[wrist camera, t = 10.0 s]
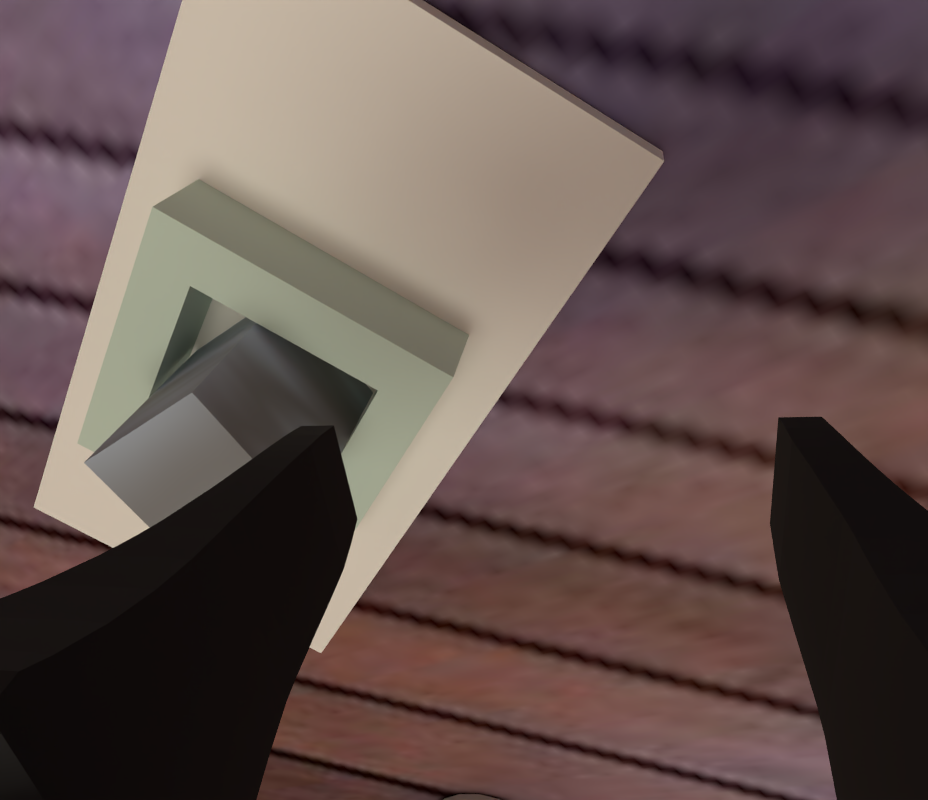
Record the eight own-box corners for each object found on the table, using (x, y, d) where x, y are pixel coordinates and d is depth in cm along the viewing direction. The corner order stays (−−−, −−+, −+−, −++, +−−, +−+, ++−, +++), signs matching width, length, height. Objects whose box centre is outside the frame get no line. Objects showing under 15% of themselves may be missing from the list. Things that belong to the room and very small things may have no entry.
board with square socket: (662, 150, 20) (669, 190, 17) (329, 633, 31) (298, 707, 28) (235, -118, 18) (162, -126, 16) (50, 491, 30) (-13, 552, 27)
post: (373, 393, 24) (306, 517, 19) (280, 445, 26) (195, 573, 21) (288, 287, 23) (192, 392, 18) (196, 350, 24) (84, 462, 19)
